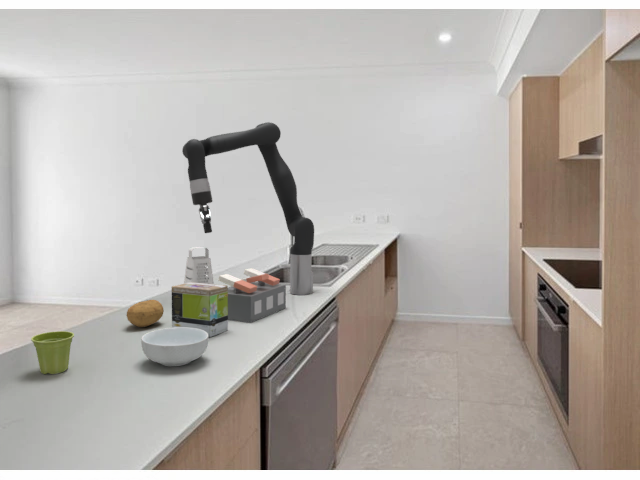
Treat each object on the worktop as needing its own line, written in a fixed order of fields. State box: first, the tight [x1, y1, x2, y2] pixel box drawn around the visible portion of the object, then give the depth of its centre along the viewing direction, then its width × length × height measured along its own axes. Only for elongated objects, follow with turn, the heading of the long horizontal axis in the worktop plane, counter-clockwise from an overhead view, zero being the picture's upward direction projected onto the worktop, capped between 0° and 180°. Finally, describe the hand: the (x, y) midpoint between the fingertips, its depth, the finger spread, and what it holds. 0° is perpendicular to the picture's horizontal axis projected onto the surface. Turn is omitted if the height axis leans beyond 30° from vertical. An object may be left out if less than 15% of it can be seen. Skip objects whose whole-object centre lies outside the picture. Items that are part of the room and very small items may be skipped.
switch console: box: [228, 281, 287, 323], centre depth 197 cm, size 31×16×11 cm, turn 156°
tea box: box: [171, 282, 229, 338], centre depth 168 cm, size 15×10×15 cm, turn 65°
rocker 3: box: [243, 267, 281, 286], centre depth 201 cm, size 5×13×2 cm, turn 66°
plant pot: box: [30, 330, 75, 375], centre depth 131 cm, size 9×9×9 cm
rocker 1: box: [218, 273, 257, 293], centre depth 186 cm, size 5×13×2 cm, turn 66°
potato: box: [125, 299, 165, 328], centre depth 174 cm, size 10×14×8 cm
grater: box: [183, 246, 215, 284], centre depth 226 cm, size 10×10×20 cm
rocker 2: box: [240, 273, 270, 283], centre depth 194 cm, size 5×13×2 cm, turn 66°
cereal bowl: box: [140, 327, 209, 367], centre depth 139 cm, size 17×17×7 cm
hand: (208, 232), depth 207 cm, fingers open, 8 cm apart
